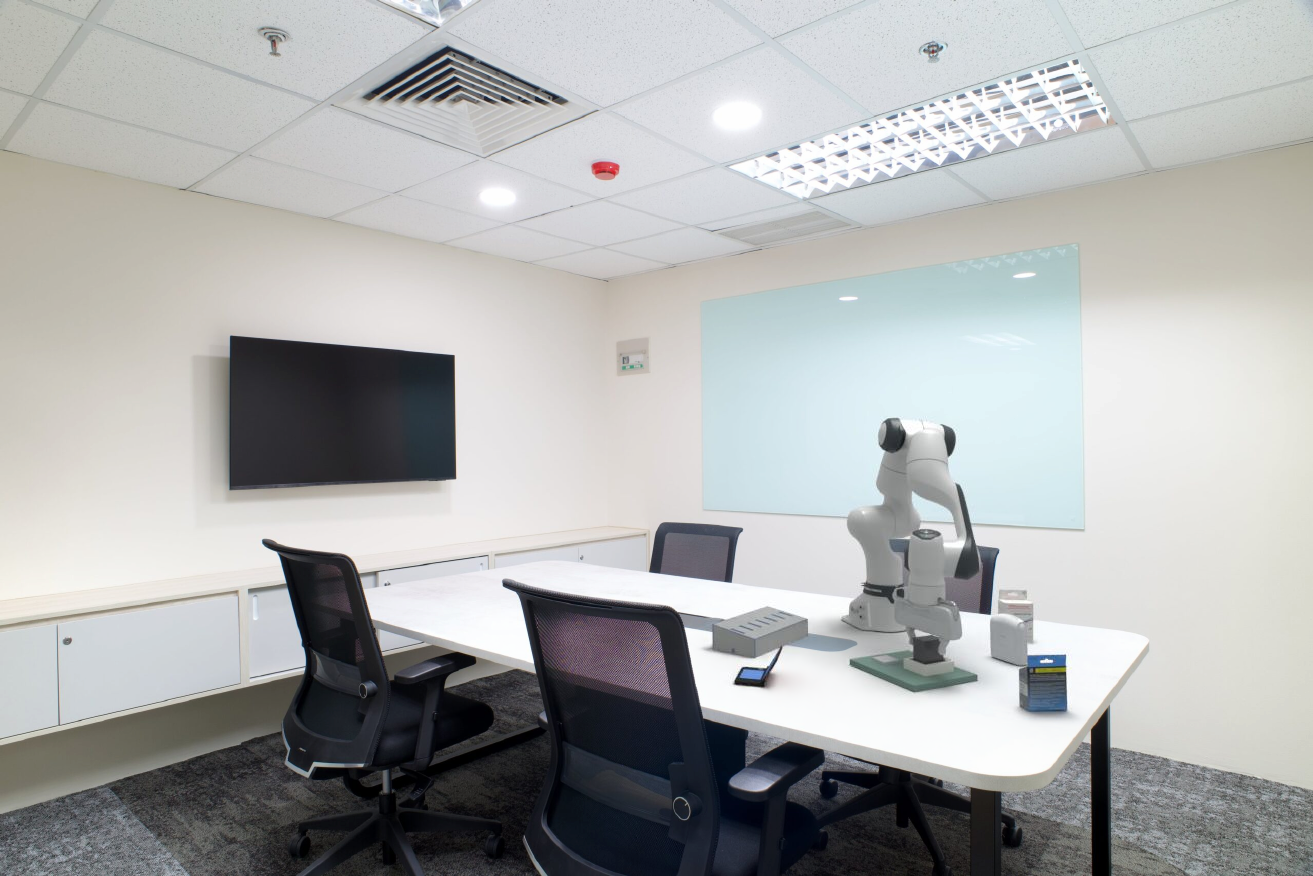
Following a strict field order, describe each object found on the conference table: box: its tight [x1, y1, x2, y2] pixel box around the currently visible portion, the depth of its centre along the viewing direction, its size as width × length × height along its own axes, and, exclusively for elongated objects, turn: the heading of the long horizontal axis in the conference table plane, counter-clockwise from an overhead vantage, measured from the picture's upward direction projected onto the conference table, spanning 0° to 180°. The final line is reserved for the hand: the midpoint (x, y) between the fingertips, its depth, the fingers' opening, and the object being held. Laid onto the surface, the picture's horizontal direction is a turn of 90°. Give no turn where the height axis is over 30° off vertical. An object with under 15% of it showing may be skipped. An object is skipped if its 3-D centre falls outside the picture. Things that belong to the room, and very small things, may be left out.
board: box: [849, 649, 978, 693], centre depth 189 cm, size 24×20×4 cm
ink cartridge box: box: [997, 588, 1034, 644], centre depth 219 cm, size 9×5×15 cm, turn 84°
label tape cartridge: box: [1018, 653, 1068, 712], centre depth 163 cm, size 9×4×12 cm, turn 92°
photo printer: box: [989, 613, 1029, 666], centre depth 199 cm, size 10×4×12 cm, turn 20°
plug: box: [912, 634, 944, 665], centre depth 187 cm, size 4×7×8 cm, turn 114°
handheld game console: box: [734, 646, 784, 688], centre depth 185 cm, size 12×11×7 cm
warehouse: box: [711, 605, 809, 659], centre depth 219 cm, size 30×14×8 cm, turn 140°
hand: (927, 649), depth 187 cm, fingers open, 8 cm apart
